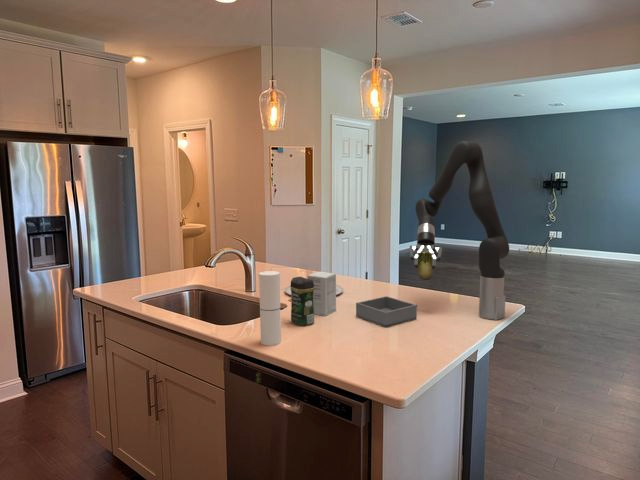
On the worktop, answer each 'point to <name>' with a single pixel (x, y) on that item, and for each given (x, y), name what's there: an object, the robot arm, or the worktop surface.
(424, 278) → the fennel bulb
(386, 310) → the bin
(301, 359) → the worktop surface
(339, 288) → the plated food
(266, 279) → the cylindrical container
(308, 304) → the coffee jar
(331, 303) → the supplement box
